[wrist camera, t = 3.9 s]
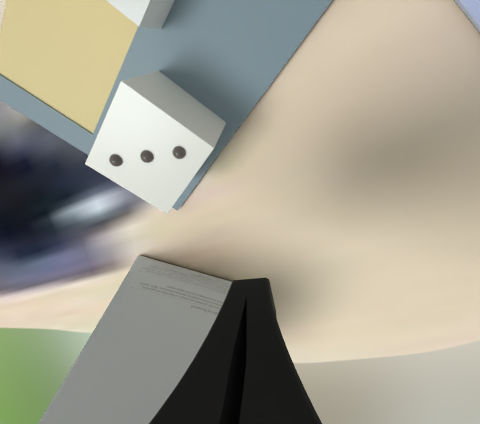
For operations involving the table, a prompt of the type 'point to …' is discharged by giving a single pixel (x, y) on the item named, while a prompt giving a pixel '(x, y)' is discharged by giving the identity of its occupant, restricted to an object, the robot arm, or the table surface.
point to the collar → (144, 11)
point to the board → (145, 59)
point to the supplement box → (139, 346)
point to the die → (154, 139)
